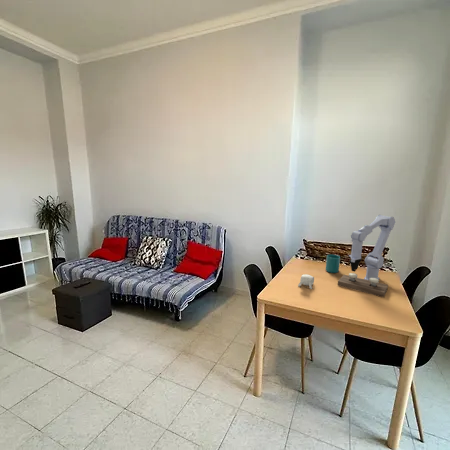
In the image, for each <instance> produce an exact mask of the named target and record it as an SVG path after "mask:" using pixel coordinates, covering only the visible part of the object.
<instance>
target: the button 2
mask: <svg viewBox="0 0 450 450" xmlns="http://www.w3.org/2000/svg"><path fill="white" fill-rule="evenodd" d="M369 281H370V282H371V286H373V287H376V283H380V282H379V281H380V279H379V280H378V279H376V278H370V279H369Z"/></svg>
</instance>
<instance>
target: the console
mask: <svg viewBox="0 0 450 450" xmlns="http://www.w3.org/2000/svg"><path fill="white" fill-rule="evenodd" d="M337 286H340V287H342V288H347V289H351V290H354V291H358V292H362V293H365V294H369V295H373V296H376V297H381V298H385V296H386V293H387V291H388V289H389V284H385V283H381V282H378V283H376V287H373V286H371V282H370V281H369V280H365V279H364V278H360V277H357V278H355V282H352V281H350V277H349V274H343V275H342V276H341V277H340V278H339V279H338V280H337Z"/></svg>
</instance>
